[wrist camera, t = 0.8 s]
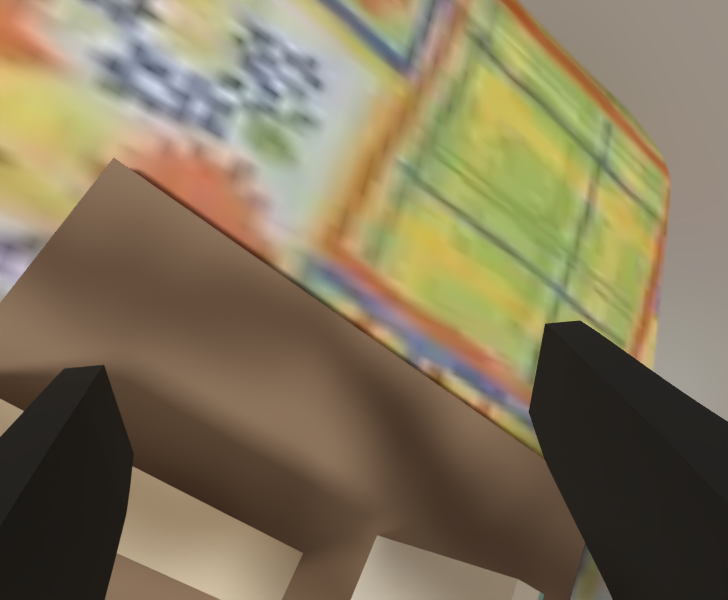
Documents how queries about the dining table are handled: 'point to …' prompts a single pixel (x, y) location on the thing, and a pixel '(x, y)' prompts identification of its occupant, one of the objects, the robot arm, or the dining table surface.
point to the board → (271, 404)
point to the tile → (431, 577)
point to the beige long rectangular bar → (196, 540)
